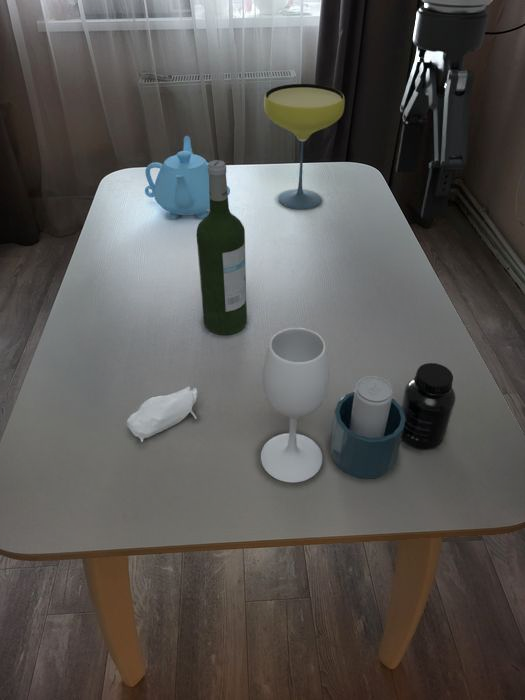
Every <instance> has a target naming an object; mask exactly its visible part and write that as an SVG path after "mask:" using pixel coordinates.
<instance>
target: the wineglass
mask: <svg viewBox="0 0 525 700" xmlns="http://www.w3.org/2000/svg"><path fill="white" fill-rule="evenodd" d="M265 352H266V353H265V356H264V361H263V367H262V388H263V393H264V397H265V399H266V401H267V402H268V405H270V407H271V408H272V409H273V410H275V411H276V412H277V413H278V414H280V415H281V416H284V417H287V418H289V432H288V433H281V434H278V435H276V436H273V437H272V438H270V439H269V440H268V441H267V442H265V444H264V445H263V447H262V449H261V452H260V462H261V465H262V467H263V469H264V470H265V471H266V473H267V474H268V475H269V476H271V477H272V478H274V479H276V480H278V481H280V482H283V483H291V484H293V483H295V484H296V483H301V482H305V481H308V480H310V479H311V478H313V477H314V476H315V475H316V474H317V473H318V472H319V471H320V470H321V467H322V464H323V453H322V450H321V448H320V447H319V445H318V444H317V443H316V442H315V441H314V440H313V439H312V438H309V437H308V436H306V435H303V434H299V433H297V428H298V419H299V418H304V417H307V416H309V415H311V414H313V413H314V412H316V411H317V410H318V409H319V408H320V407H321V406H322V405H323V403H324V401H325V399H326V397H327V393H328V389H329V382H330V362H329V361H330V360H329V354H328V349H327V345H326V342H325V339H324V338H323V337H322V336H321V335H320V334H319V333H318V332H315V331H314V330H311V329H308V328H304V327H289V328H285V329H282V330H280V331H278V332H276V333H275V334H274V335H273V336H272V337H271V338H270V340H269V343H268V346H267V350H266V351H265Z"/></svg>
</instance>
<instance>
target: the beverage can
mask: <svg viewBox="0 0 525 700" xmlns="http://www.w3.org/2000/svg"><path fill="white" fill-rule="evenodd" d="M393 390H394V389H393V385H391V383H390V382H389V381H388V380H387V379H385V378H383V377H381V376H378V375H367V376H363V377H361V378H360V379H359V380H358V381H357V383H356V385H355V389H354V391H355V393H354V400H353V407H352V415H351V422H350V428H349V430H351V431H352V432H354V433H356V434H357V435H361V436H364V437H368V438H383V437H384V433H385V429H386V424H387V419H388V415H389V410H390V405H391V401H392V398H393V395H394V394H393Z"/></svg>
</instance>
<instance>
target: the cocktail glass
mask: <svg viewBox="0 0 525 700" xmlns="http://www.w3.org/2000/svg"><path fill="white" fill-rule="evenodd" d="M345 103H346V99H345V96H344V94H343V92H341V91H340V90H338V89H336V88H333V87H331V86H327V85H322V84H315V83H291V84H284V85H283V84H282V85H278V86H276V87H275V86H274V87H272V88H270V89H269V90H267V91H266V93H265V94H264V99H263V109H264V114H265V115H266V117H267V118H268V119H269V120H270V121H271V122H272V123H273V124H274V125H277V126H278V127H280V128H282V129H285V130H287V131H289V132H291V133H292V134H294V136H295V137H296V139H297V140H298V141H300V154H299V155H300V158H299V173H298V174H299V175H298V186H297V189H290V190H286V191H283V192H281V193H280V194H279V195H278V197H277V200H278V202H279V203H280V205H282V206H283V207H285V208H287V209H291V210H310V209H313V208H316V207H317V206H319V205H320V204H321V202H322V197H321V196H320V194H318V193H317V192H315V191H312V190H310V189H309V190H308V189H303V166H304V164H303V163H304V144H305V142H306V141H307V140H308V139H309V138H310V136H311V135H313V134H314V133H316V132H318V131H321V130H325V129H326V128H328V127H330V126H332V125H334V124H335V123H336V122H338V121H339V120H340V119H341V117H342V116H343V114H344V112H345Z"/></svg>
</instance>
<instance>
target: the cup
mask: <svg viewBox="0 0 525 700" xmlns="http://www.w3.org/2000/svg"><path fill="white" fill-rule="evenodd" d="M354 393H355V390H354V391H351V392H349V393H346V394H345V395H344V396H342V397H341V398H340V399H339V400H338V401H337V403H336V406H335V409H334V416H333V422H332V423H333V424H332V432H331V439H330V440H331V441H330V454H331V459H332V460H333V462H334V464H335V465H336V467H338V468H339V469H340V470H341V471H342V472H344V473H345V474H347V475H349V476H351V477H354V478H357V479H362V480H373V479H378V478H381V477H383V476H385V475H387V474H388V473H389V472H390V471H391V470H392V469H393V468H394V466H395V465H396V461H397V456H398V454H399V453H398V452H399V449H400V445H401V441H402V439H401V437H402V433H403V429H404V425H405V420H406V418H405V414H404V411H403V408H402V407H401V406H402V405H400V403H398V402H397V400H395V398H393V397H392V401H391V405H390V410H389V415H388V419H387V424H386V429H385V433H384V437H383V438H368V437H364V436H361V435H357V434H356V433H354V432H352V431H351V430H349V428H350V422H351V415H352V407H353V400H354Z"/></svg>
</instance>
